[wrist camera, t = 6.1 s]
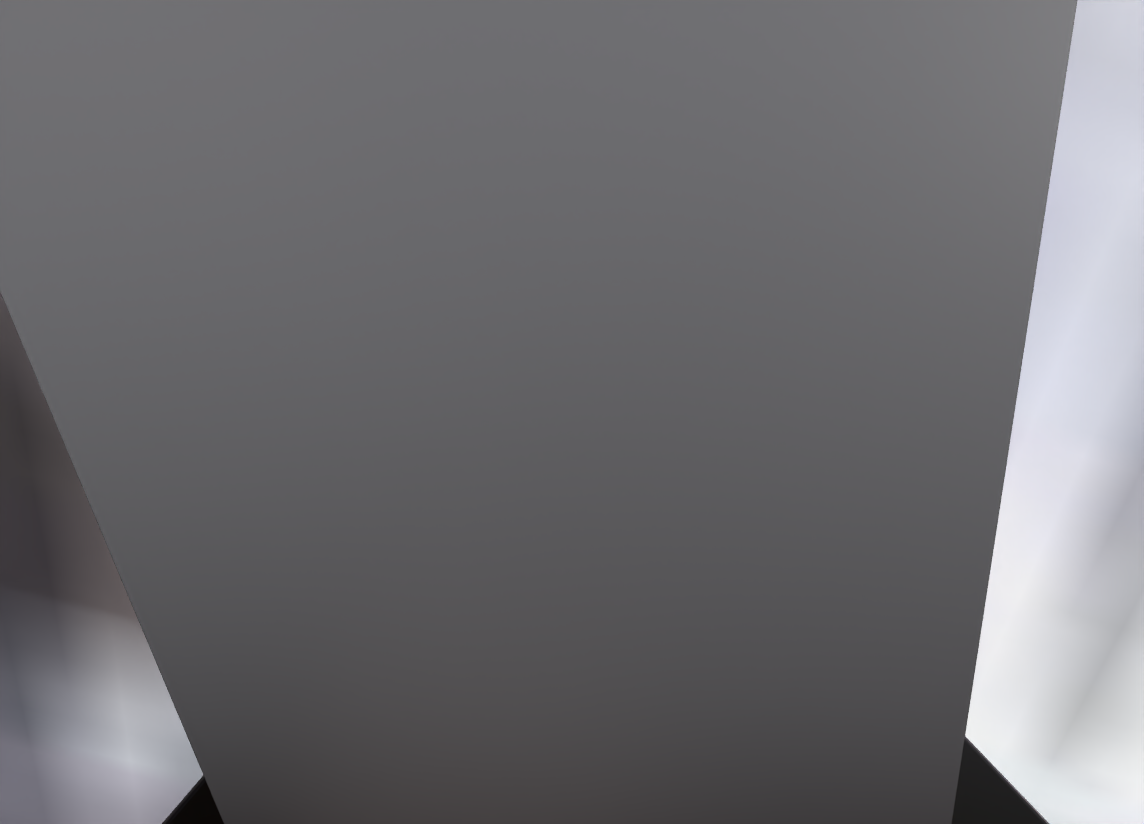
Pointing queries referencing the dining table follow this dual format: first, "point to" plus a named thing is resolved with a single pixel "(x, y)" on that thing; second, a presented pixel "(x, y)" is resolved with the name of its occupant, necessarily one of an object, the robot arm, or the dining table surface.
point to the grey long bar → (541, 384)
